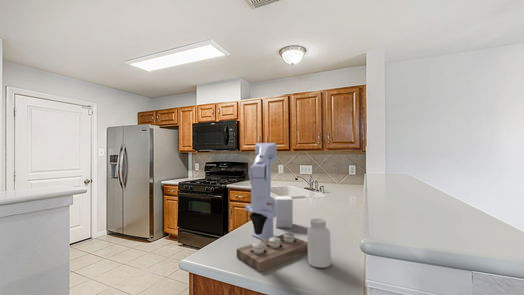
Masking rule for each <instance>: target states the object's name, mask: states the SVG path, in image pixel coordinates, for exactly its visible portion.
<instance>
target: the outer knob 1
mask: <svg viewBox="0 0 524 295" xmlns="http://www.w3.org/2000/svg"><path fill="white" fill-rule="evenodd" d="M252 244H253V254H255V255H257V256H258V255H261V254H264V247H265V244H264V243H261V242H260V241H258V242H253V243H252Z"/></svg>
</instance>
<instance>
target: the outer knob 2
mask: <svg viewBox="0 0 524 295" xmlns="http://www.w3.org/2000/svg"><path fill="white" fill-rule="evenodd" d="M283 234H284V235H283ZM283 234H282V235H283V237H284V243H287V244H292V243H294V237H295V234H294V233H291V232H286V233H283Z"/></svg>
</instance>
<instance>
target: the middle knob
mask: <svg viewBox="0 0 524 295" xmlns="http://www.w3.org/2000/svg"><path fill="white" fill-rule="evenodd" d="M269 247H270V248H272V249H274V250H275V249H278V248H280V239H279V238H276V237H273V238H269Z"/></svg>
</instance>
